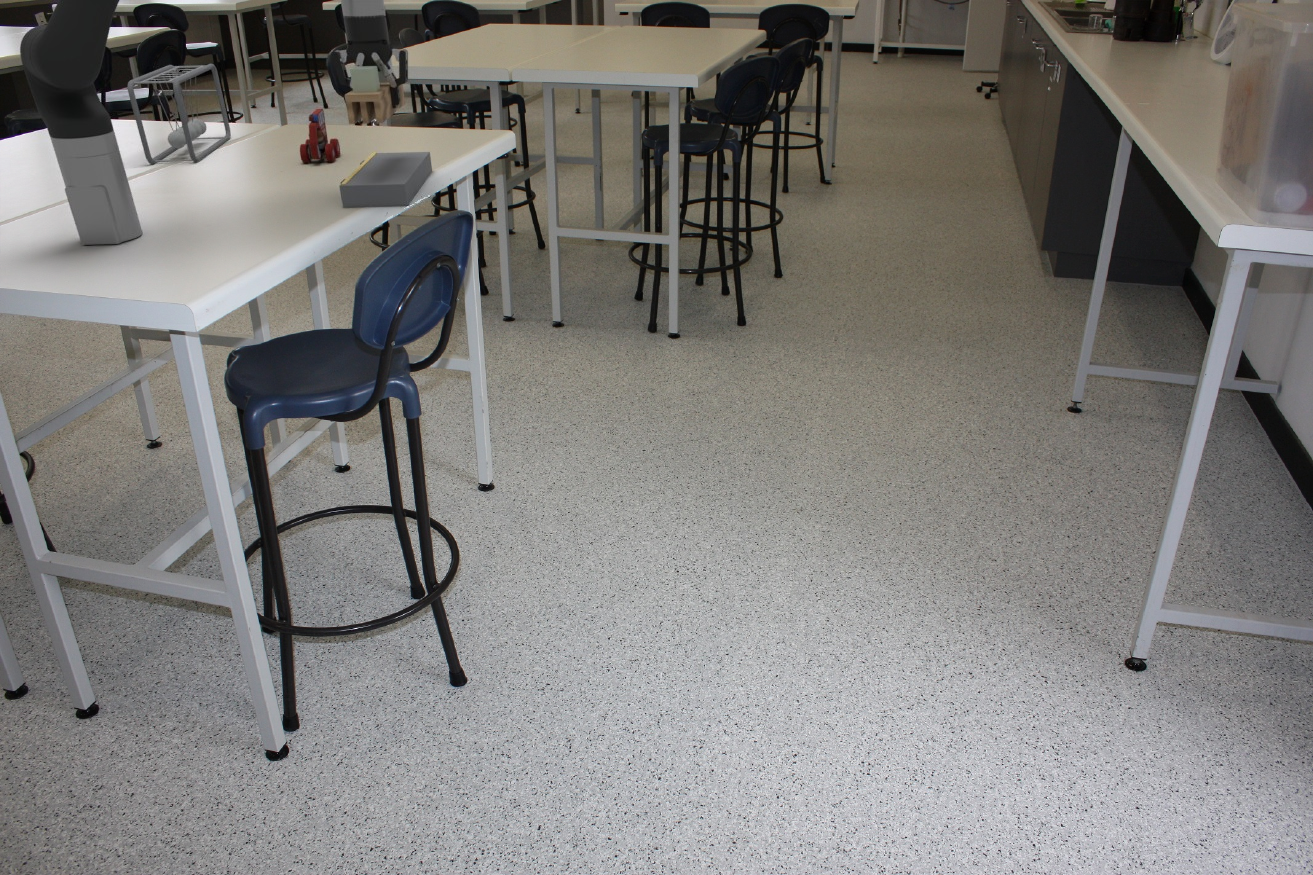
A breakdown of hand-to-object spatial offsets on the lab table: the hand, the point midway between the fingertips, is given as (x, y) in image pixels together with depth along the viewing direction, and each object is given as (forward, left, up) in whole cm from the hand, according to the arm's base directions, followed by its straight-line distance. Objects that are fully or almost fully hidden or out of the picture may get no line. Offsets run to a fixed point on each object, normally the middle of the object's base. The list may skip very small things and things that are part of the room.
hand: (378, 107), depth 182 cm
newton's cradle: (+41, +55, -16) cm, 70 cm away
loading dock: (0, 0, -15) cm, 15 cm away
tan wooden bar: (0, 0, -1) cm, 1 cm away
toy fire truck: (+28, +21, -16) cm, 38 cm away
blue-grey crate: (+6, 0, +4) cm, 7 cm away
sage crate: (-6, 0, +4) cm, 7 cm away
